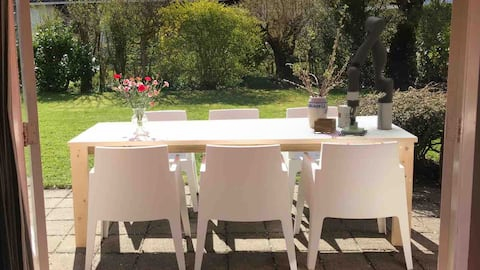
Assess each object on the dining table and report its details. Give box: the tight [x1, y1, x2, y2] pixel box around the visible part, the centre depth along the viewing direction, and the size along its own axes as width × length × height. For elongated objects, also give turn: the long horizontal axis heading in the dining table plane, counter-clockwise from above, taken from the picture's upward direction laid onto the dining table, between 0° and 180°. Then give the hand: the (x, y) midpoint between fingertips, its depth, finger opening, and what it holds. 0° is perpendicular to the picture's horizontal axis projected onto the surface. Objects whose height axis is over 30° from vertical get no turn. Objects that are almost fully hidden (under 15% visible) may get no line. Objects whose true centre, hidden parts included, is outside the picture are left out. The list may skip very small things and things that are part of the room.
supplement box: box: [337, 104, 352, 129], centre depth 345 cm, size 9×9×15 cm
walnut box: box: [313, 117, 337, 134], centre depth 330 cm, size 12×12×8 cm
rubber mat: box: [340, 128, 368, 137], centre depth 323 cm, size 18×16×1 cm
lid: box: [342, 121, 365, 134], centre depth 322 cm, size 12×12×6 cm
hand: (353, 124), depth 322 cm, fingers open, 8 cm apart
